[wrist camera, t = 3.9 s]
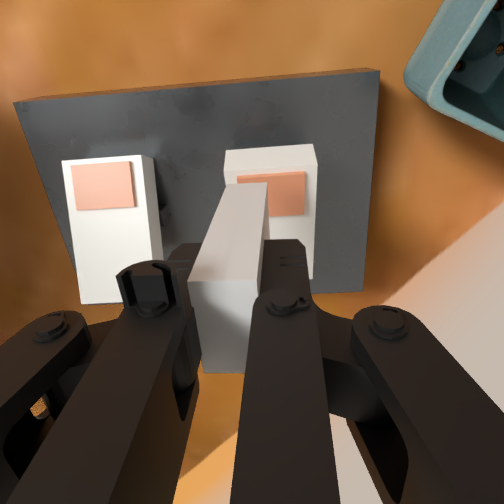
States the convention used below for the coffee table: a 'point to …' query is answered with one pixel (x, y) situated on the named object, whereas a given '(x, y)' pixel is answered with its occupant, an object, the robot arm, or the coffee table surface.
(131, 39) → the coffee table surface
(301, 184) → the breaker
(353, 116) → the breaker panel
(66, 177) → the block
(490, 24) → the flower pot
